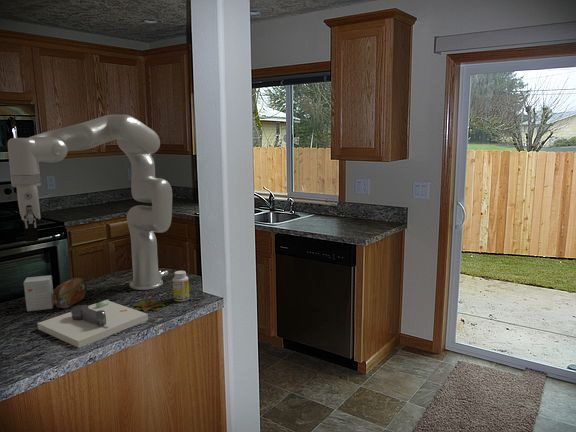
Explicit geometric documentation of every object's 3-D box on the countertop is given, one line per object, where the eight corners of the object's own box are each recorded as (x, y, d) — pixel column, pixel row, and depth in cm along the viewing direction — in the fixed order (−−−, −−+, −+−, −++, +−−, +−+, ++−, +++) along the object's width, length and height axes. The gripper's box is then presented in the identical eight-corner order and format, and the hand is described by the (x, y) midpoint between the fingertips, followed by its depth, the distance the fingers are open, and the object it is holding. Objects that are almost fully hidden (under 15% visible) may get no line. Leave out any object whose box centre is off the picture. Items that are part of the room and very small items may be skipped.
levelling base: (106, 305, 164) (105, 295, 164) (147, 319, 152) (147, 309, 151) (38, 329, 145) (36, 318, 144) (79, 348, 133) (78, 336, 132)
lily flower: (138, 301, 170) (137, 289, 169) (171, 301, 170) (170, 289, 169) (126, 314, 158) (125, 301, 157) (162, 314, 158) (161, 301, 157)
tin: (60, 312, 159) (58, 288, 157) (52, 311, 159) (50, 287, 158) (88, 296, 173) (86, 274, 172) (80, 295, 174) (78, 274, 172)
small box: (55, 303, 166) (52, 274, 165) (52, 309, 161) (49, 279, 159) (29, 306, 164) (26, 277, 162) (26, 311, 159) (23, 282, 157)
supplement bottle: (187, 295, 174) (186, 269, 172) (191, 300, 169) (189, 273, 167) (171, 298, 172) (170, 271, 170) (175, 303, 167) (174, 275, 165)
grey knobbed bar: (68, 317, 148) (67, 304, 147) (83, 312, 152) (82, 300, 151) (96, 328, 140) (95, 315, 139) (111, 323, 144) (110, 310, 143)
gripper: (42, 182, 132) (47, 242, 135) (38, 177, 147) (42, 231, 150) (11, 184, 128) (17, 245, 131) (10, 178, 143) (15, 233, 146)
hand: (31, 237), depth 141 cm, fingers open, 9 cm apart
